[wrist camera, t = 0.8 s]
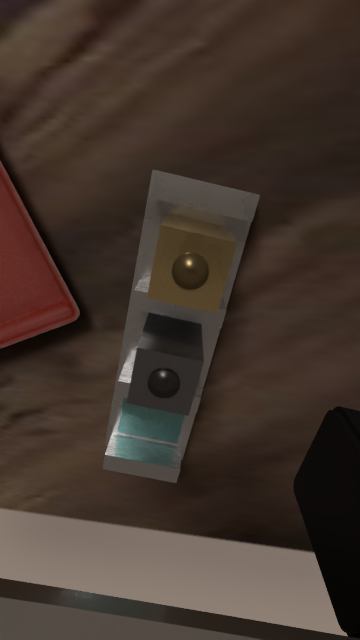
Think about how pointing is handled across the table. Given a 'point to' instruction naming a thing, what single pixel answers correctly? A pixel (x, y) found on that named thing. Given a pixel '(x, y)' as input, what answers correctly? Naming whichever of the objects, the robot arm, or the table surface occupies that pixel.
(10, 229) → the plant saucer
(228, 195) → the rail
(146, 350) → the dark knobbed cube
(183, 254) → the yellow tall block
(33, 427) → the table surface
